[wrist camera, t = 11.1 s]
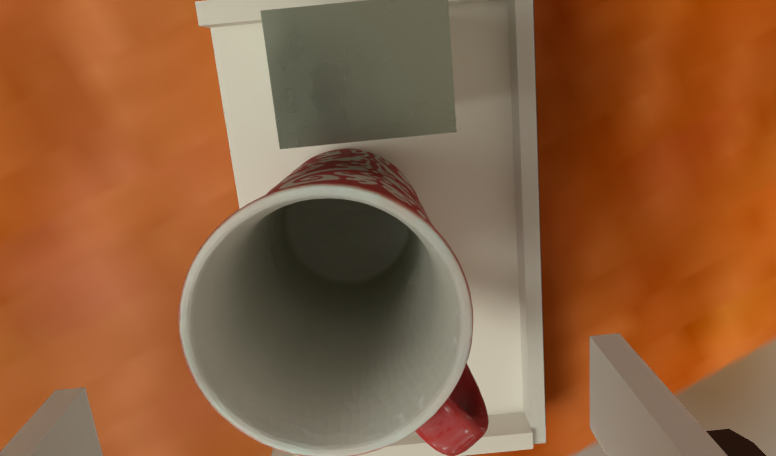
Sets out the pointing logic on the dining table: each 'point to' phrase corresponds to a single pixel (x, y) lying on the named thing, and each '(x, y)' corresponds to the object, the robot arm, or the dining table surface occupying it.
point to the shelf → (435, 188)
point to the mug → (334, 316)
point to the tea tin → (360, 71)
